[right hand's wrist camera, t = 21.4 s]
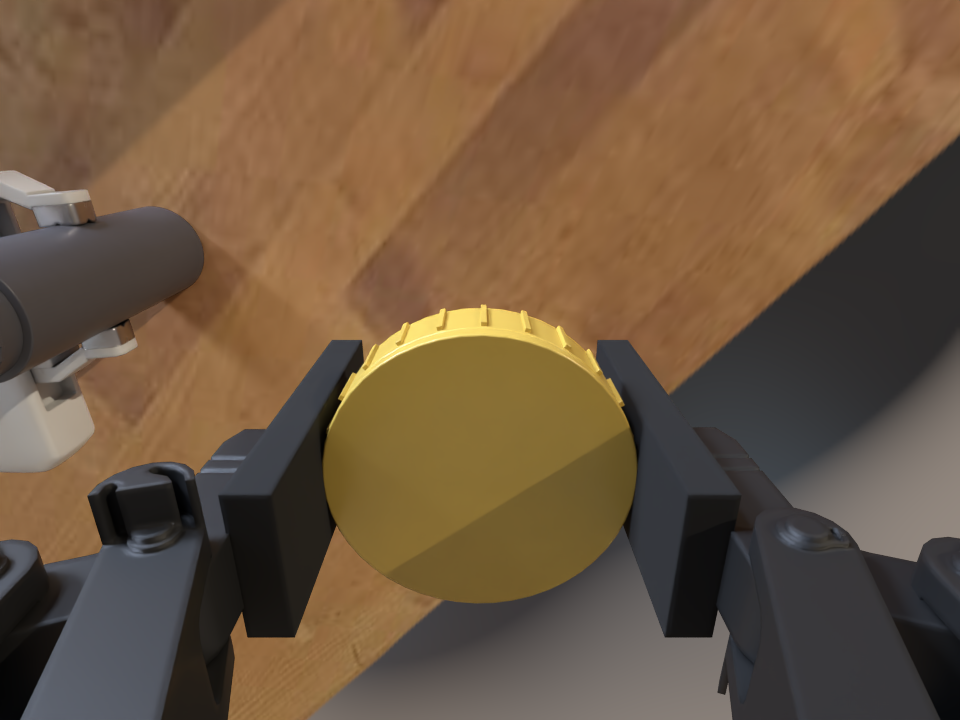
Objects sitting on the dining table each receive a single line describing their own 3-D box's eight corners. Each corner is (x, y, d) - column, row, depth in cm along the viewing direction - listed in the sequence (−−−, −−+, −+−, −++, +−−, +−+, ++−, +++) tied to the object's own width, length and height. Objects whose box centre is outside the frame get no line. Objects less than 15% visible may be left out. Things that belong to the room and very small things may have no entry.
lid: (674, 374, 11) (704, 409, 10) (543, 584, 13) (551, 640, 12) (398, 254, 10) (384, 274, 9) (302, 499, 13) (278, 549, 11)
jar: (124, 288, 34) (-126, 396, 20) (110, 202, 32) (-179, 255, 18) (208, 294, 34) (19, 406, 20) (199, 209, 32) (-18, 267, 18)
